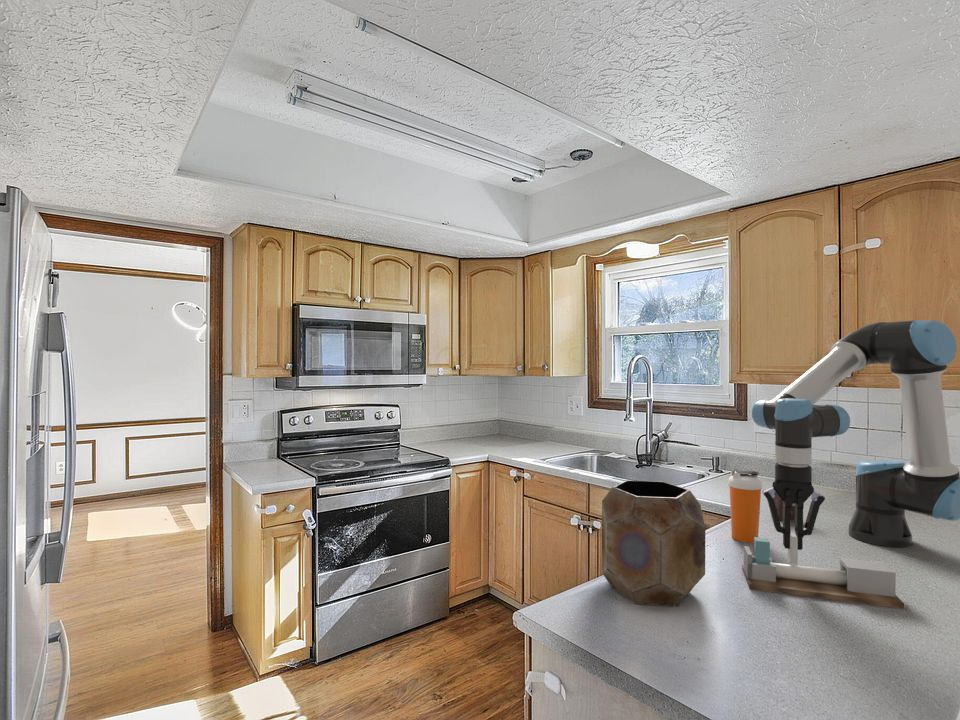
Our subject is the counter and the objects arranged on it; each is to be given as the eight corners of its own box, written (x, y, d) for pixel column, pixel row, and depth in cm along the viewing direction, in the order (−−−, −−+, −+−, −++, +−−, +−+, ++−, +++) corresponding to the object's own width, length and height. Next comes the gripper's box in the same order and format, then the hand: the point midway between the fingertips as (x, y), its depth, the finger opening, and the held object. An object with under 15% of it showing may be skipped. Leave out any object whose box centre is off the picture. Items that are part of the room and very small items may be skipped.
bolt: (846, 582, 124) (846, 546, 124) (850, 588, 121) (851, 550, 121) (753, 571, 130) (753, 536, 130) (755, 576, 127) (756, 541, 127)
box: (781, 521, 173) (782, 484, 173) (771, 517, 177) (771, 481, 177) (796, 519, 175) (797, 483, 174) (785, 515, 179) (785, 480, 179)
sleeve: (884, 585, 122) (885, 562, 122) (895, 596, 117) (895, 572, 117) (839, 580, 125) (839, 557, 125) (847, 591, 120) (848, 567, 120)
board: (882, 585, 125) (882, 580, 125) (904, 609, 114) (904, 603, 114) (742, 569, 135) (742, 564, 135) (749, 589, 123) (749, 583, 123)
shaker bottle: (765, 544, 152) (766, 475, 152) (732, 542, 154) (733, 474, 153) (756, 534, 161) (756, 468, 160) (724, 532, 162) (725, 467, 162)
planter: (579, 579, 129) (579, 482, 128) (659, 564, 138) (659, 473, 138) (638, 622, 108) (639, 507, 108) (727, 601, 117) (728, 495, 117)
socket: (770, 572, 130) (771, 548, 130) (775, 582, 124) (776, 557, 124) (743, 569, 132) (744, 546, 132) (747, 578, 126) (747, 554, 126)
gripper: (820, 462, 127) (819, 559, 127) (759, 459, 131) (759, 553, 132) (829, 468, 120) (828, 572, 120) (765, 465, 124) (764, 564, 125)
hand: (792, 562), depth 126 cm, fingers closed
